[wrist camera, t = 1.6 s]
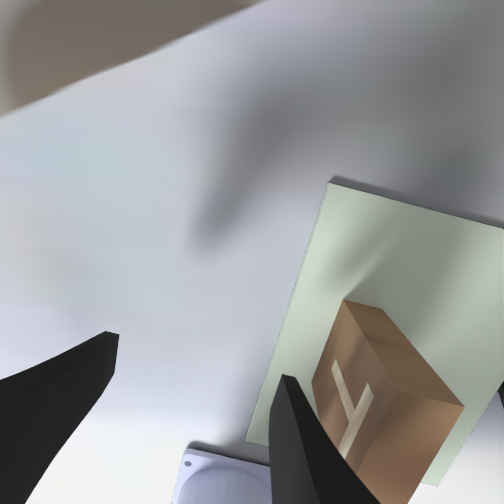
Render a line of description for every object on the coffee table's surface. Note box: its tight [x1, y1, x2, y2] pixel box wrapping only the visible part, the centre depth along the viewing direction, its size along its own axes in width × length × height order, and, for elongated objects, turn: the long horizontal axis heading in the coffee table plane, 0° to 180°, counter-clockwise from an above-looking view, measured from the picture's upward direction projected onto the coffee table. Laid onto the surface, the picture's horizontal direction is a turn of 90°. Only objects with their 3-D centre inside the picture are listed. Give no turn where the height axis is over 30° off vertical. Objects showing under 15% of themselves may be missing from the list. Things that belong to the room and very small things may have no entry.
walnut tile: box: [311, 299, 465, 504], centre depth 14 cm, size 6×2×7 cm, turn 166°
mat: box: [246, 183, 504, 487], centre depth 17 cm, size 18×14×1 cm
